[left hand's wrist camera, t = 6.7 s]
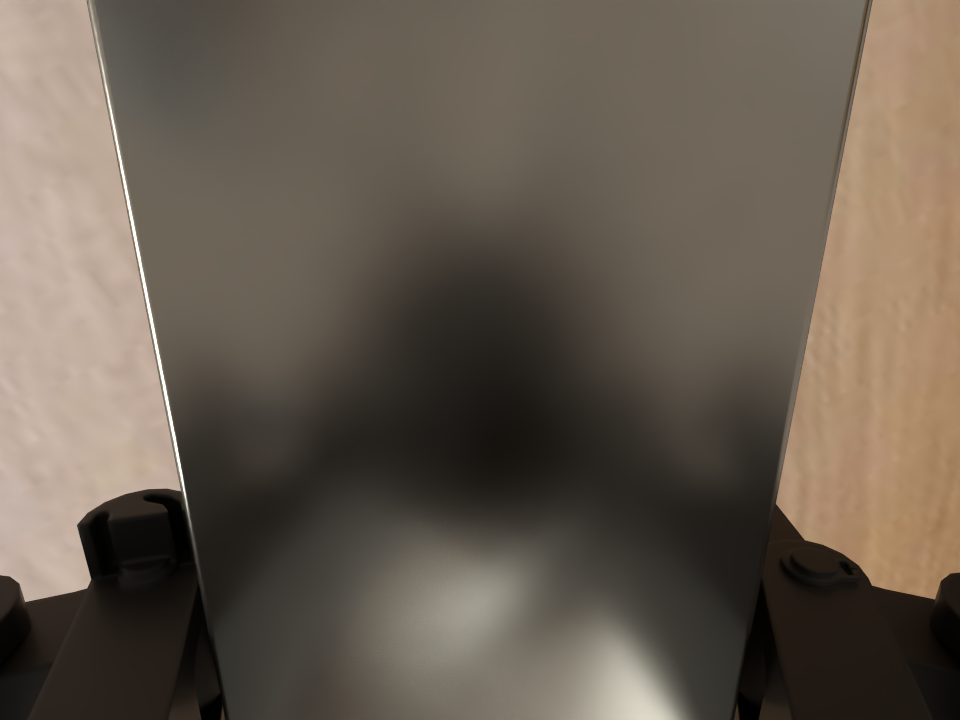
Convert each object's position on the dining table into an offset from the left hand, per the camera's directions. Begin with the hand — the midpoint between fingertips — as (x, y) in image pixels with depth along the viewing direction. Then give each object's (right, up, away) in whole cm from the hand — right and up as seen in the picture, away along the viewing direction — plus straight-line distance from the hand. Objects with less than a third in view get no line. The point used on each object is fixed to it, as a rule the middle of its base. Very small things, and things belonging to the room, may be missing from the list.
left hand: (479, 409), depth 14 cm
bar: (0, +9, -3) cm, 9 cm away
